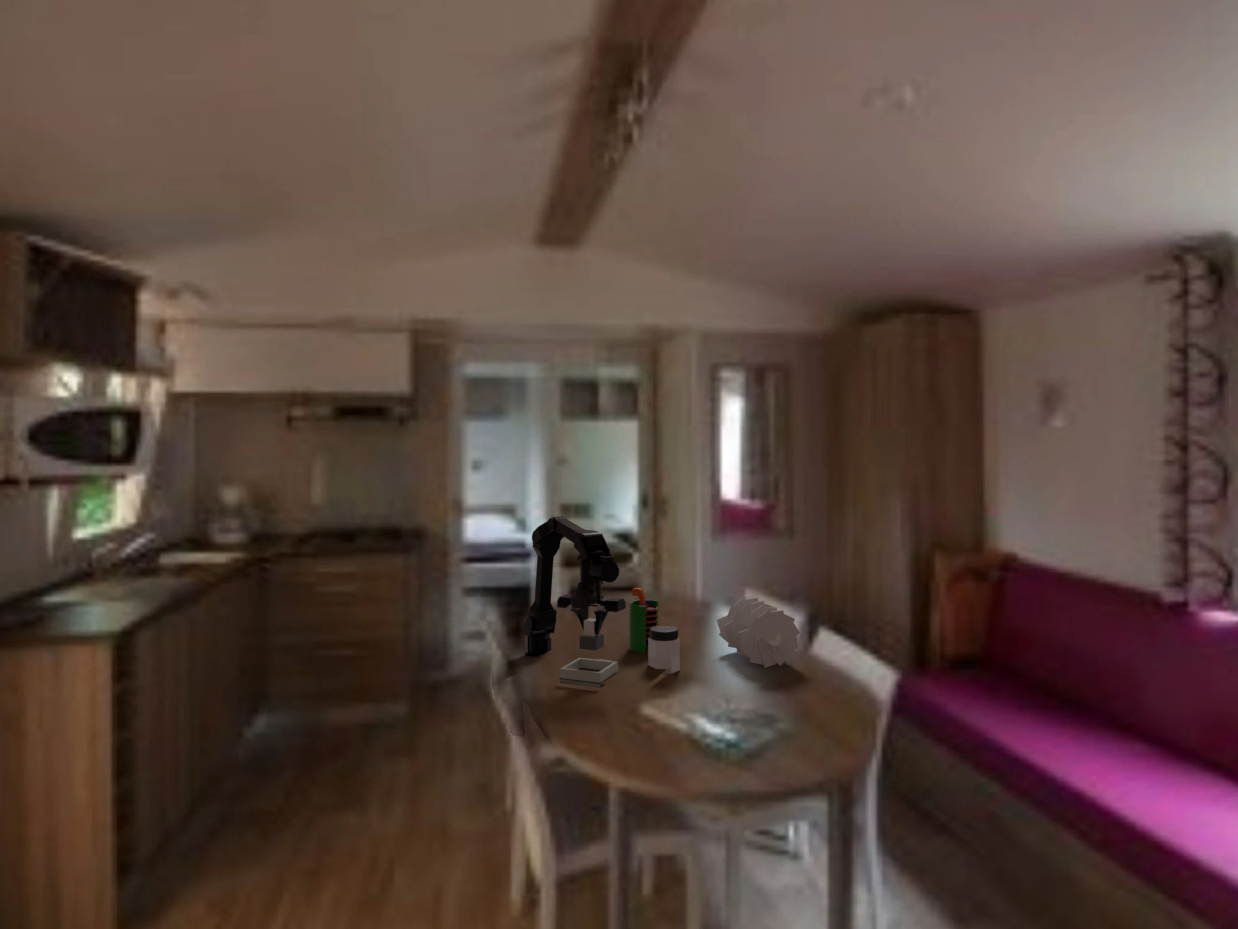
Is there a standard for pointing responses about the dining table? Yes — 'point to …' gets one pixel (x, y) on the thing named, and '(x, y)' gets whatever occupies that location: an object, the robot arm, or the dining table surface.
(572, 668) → the bin
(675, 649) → the jar
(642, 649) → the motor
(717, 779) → the dining table surface
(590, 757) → the dining table surface
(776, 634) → the spiral staircase
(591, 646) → the grey square peg
